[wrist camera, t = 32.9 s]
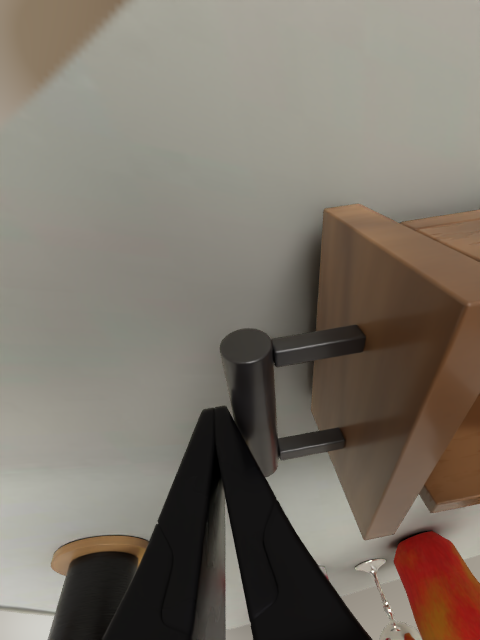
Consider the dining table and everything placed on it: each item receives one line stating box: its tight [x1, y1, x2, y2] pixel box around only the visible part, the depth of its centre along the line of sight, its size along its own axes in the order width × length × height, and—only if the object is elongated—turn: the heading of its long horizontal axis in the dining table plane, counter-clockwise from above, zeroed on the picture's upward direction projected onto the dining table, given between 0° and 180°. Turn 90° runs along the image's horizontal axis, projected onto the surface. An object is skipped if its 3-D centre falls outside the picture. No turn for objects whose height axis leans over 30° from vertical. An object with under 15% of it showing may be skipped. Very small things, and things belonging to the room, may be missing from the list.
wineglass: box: [355, 559, 422, 640], centre depth 35 cm, size 6×6×12 cm
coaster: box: [51, 536, 149, 576], centre depth 25 cm, size 8×8×1 cm
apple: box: [394, 531, 480, 640], centre depth 30 cm, size 9×8×12 cm
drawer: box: [220, 204, 480, 540], centre depth 10 cm, size 16×10×6 cm, turn 96°
